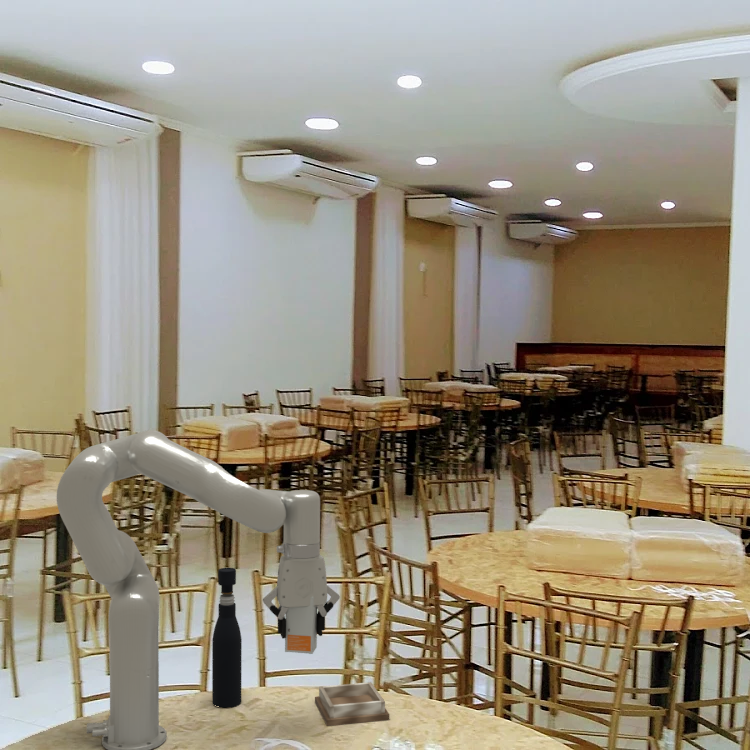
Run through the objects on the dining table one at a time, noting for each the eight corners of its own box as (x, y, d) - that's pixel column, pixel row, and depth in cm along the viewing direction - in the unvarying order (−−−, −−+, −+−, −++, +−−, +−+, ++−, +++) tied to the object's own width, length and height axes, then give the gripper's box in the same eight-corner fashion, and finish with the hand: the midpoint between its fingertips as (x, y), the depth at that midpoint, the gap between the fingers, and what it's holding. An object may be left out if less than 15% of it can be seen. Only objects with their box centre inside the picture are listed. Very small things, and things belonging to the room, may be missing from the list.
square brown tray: (327, 725, 196) (327, 708, 196) (314, 702, 209) (314, 685, 209) (389, 719, 199) (389, 702, 199) (373, 696, 213) (373, 680, 212)
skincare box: (284, 652, 193) (284, 595, 192) (289, 646, 197) (289, 590, 197) (313, 654, 192) (313, 596, 191) (317, 648, 196) (317, 591, 196)
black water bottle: (235, 709, 205) (235, 573, 204) (207, 706, 206) (208, 572, 205) (245, 698, 211) (245, 566, 210) (218, 696, 212) (218, 565, 211)
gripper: (262, 556, 188) (261, 643, 189) (346, 552, 192) (345, 637, 193) (257, 548, 195) (257, 632, 196) (338, 544, 200) (338, 627, 200)
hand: (301, 634), depth 194 cm, fingers closed on skincare box, 7 cm apart
